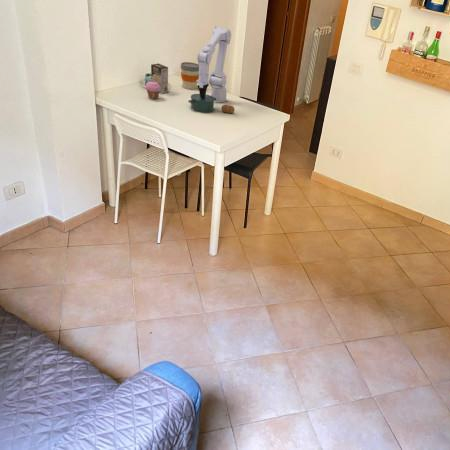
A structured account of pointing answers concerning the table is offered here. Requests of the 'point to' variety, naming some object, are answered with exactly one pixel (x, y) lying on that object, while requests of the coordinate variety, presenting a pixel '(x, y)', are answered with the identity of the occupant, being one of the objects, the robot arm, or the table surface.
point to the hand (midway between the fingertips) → (202, 96)
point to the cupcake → (153, 89)
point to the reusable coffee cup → (189, 74)
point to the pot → (202, 105)
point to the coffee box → (160, 76)
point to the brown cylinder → (227, 108)
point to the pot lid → (206, 98)
